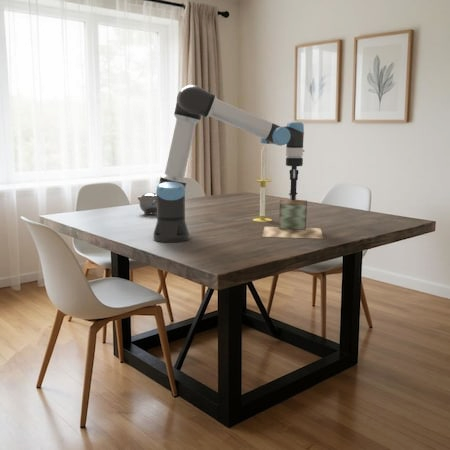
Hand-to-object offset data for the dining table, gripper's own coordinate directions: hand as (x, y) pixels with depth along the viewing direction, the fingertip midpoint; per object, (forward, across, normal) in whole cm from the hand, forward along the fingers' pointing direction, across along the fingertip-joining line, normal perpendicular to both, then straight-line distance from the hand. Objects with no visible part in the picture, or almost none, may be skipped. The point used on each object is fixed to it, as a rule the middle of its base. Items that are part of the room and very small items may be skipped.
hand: (292, 208), depth 248 cm
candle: (+10, +22, +15) cm, 28 cm away
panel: (+9, 0, 0) cm, 9 cm away
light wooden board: (+10, -8, 0) cm, 12 cm away
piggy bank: (+10, +31, +74) cm, 81 cm away
